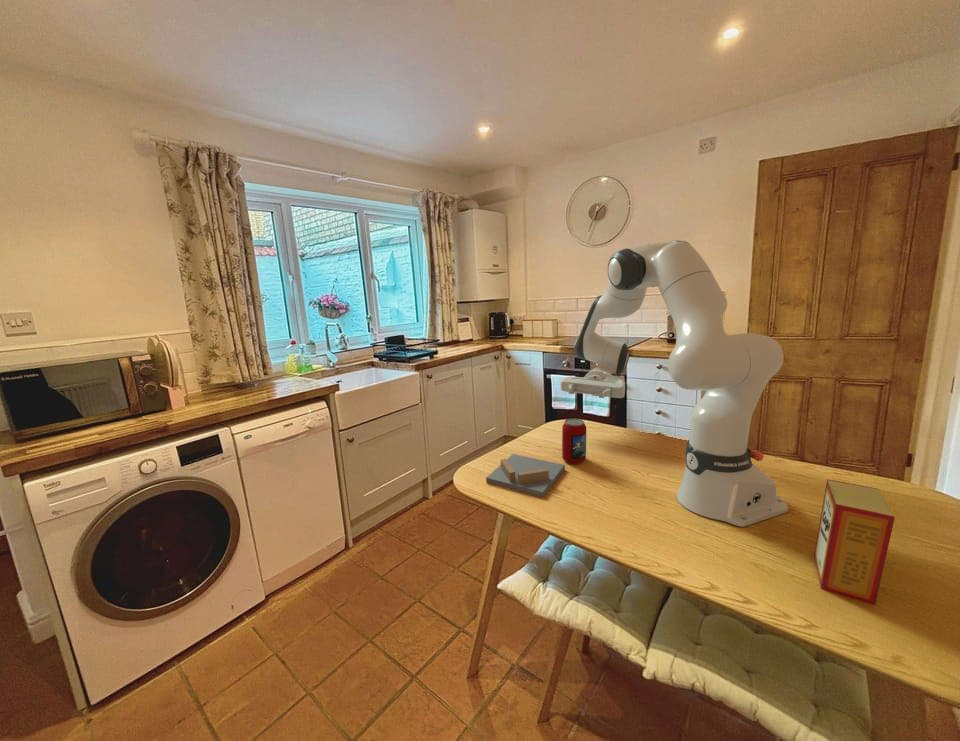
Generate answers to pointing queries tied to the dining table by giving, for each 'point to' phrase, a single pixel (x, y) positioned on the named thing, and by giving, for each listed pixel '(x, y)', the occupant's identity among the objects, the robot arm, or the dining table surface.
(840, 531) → the baking soda box
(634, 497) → the dining table surface
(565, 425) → the beverage can
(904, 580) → the dining table surface
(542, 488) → the v stop plate
